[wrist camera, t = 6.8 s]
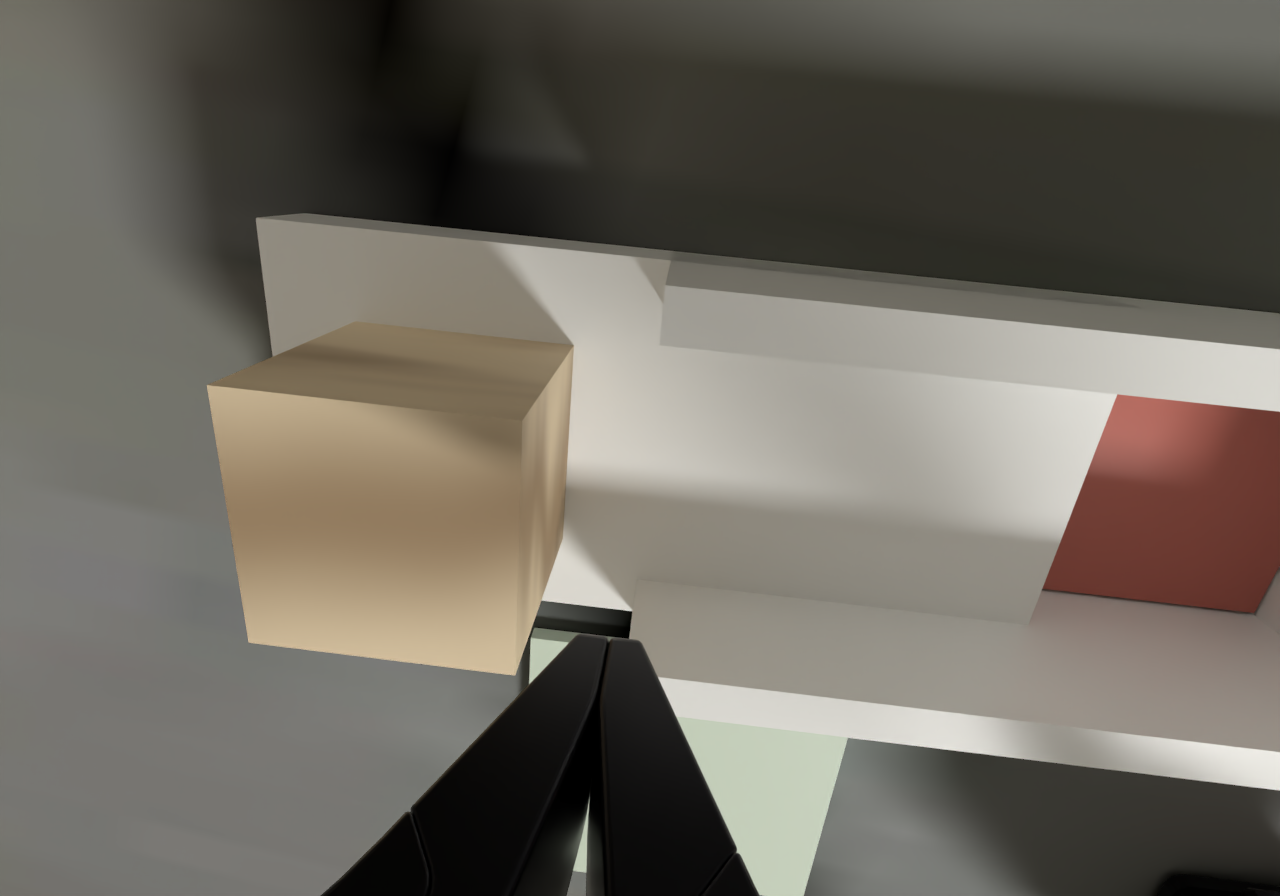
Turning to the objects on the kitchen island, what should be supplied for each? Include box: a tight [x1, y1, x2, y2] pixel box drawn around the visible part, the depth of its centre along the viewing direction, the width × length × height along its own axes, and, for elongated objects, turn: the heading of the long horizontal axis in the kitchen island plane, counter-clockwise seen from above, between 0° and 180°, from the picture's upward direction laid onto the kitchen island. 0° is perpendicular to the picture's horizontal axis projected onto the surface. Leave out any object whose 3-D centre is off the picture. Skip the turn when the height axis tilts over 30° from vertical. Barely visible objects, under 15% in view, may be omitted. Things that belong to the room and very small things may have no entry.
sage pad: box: [529, 628, 848, 896], centre depth 22 cm, size 10×10×1 cm
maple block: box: [207, 321, 574, 675], centre depth 14 cm, size 5×5×5 cm
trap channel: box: [256, 213, 1280, 790], centre depth 15 cm, size 9×27×6 cm, turn 85°
